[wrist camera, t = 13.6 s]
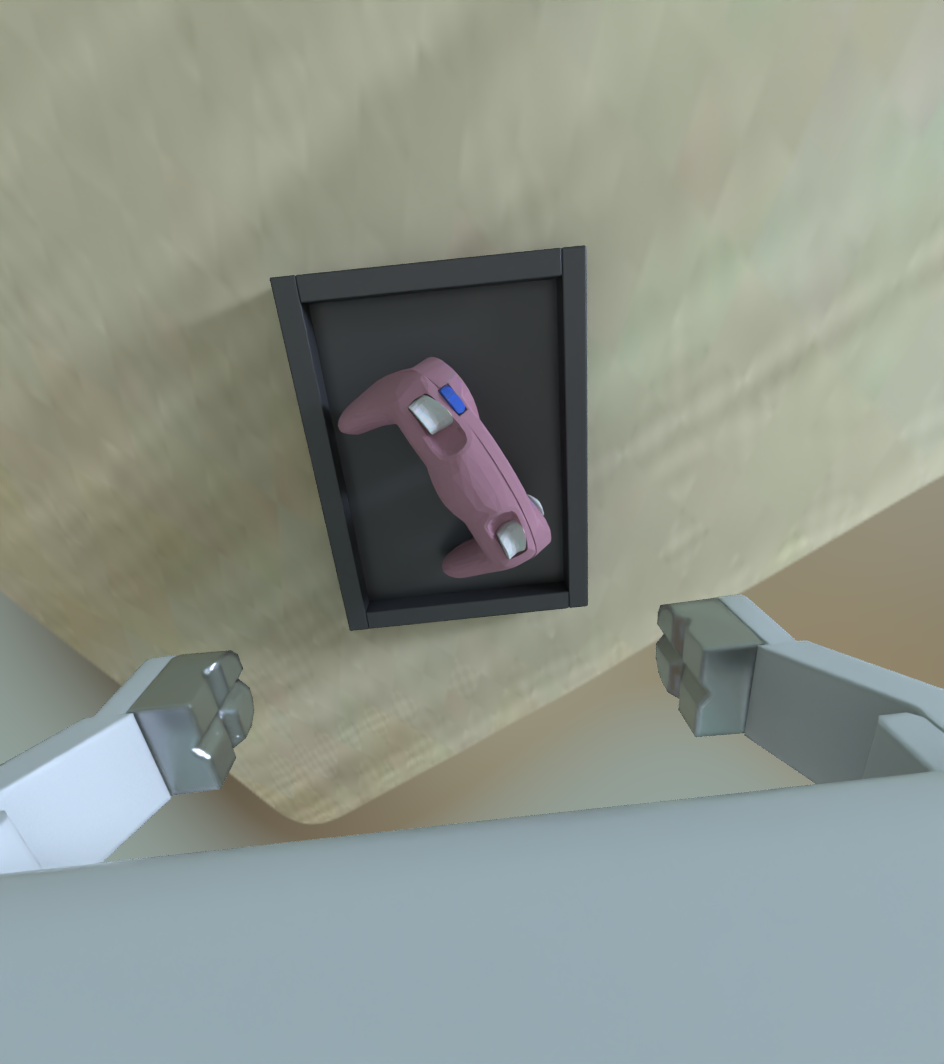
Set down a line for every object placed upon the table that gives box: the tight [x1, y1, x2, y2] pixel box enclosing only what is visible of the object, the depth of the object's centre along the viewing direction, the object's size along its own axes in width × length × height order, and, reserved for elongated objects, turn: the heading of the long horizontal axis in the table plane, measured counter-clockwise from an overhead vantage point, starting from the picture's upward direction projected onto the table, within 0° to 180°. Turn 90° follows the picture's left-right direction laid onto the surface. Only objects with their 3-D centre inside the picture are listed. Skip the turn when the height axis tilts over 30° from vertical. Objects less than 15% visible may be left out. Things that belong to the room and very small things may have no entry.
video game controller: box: [338, 357, 551, 578], centre depth 21 cm, size 10×5×7 cm, turn 32°
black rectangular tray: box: [270, 245, 588, 631], centre depth 23 cm, size 12×16×2 cm
